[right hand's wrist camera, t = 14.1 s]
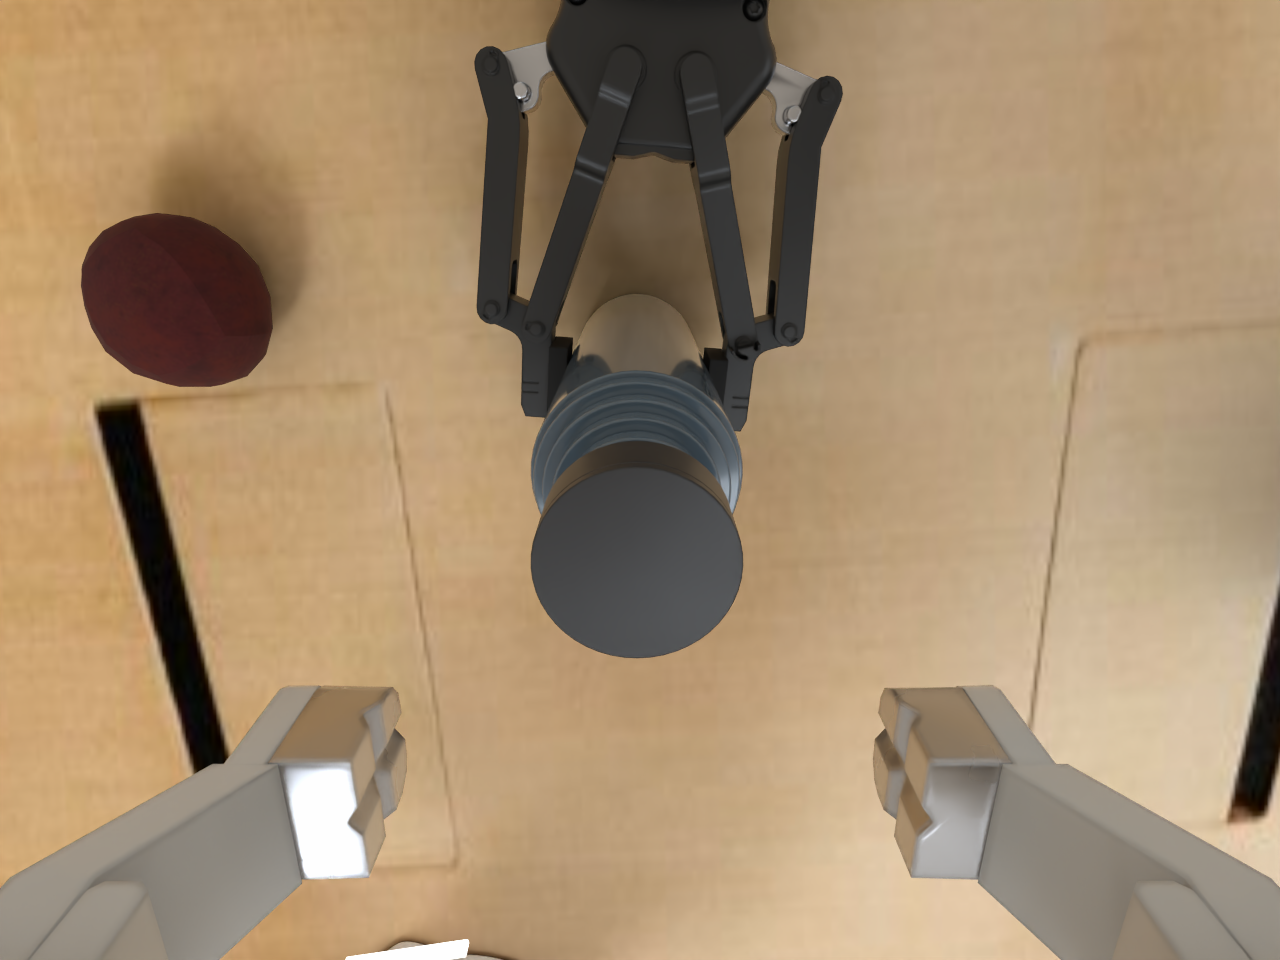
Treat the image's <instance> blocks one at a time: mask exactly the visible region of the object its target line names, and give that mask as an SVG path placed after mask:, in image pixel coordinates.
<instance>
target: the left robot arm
mask: <svg viewBox="0 0 1280 960" xmlns="http://www.w3.org/2000/svg"><path fill="white" fill-rule="evenodd" d="M768 7H769V0H561V4H560V8H559V11H558V14H557V16H556V19H555V21H554V22H553V24H552V26H551V28H550V30H549V32H548V35H547V39H546V42H542V43H538V44H534V45H530V46H526V47H522V48H518V49H514V50H510V51H506V52H501V50H500V49H498V48H495V47H493V46H489V47H485V48H483V49H481V50H480V51H479V52H478V53H477V55H476V58H475V71H476V75H477V78H478V82H479V86H480V90H481V94H482V98H483V102H484V105H485V109H486V113H487V117H488V128H487V144H486V161H485V177H484V194H483V211H482V227H481V244H480V260H479V277H478V294H477V313H478V315H479V317H480V318H481V319H482V320H483V321H484V322H486V323H489V324H496V325H499V326H501V327H503V328H505V329H508V330H510V331H512V332H513V333H515V334H516V335H517V336H518V338H519V339H520V341H521V344H522V392H521V405H522V408H523V411H524V413H525V416H531V417H546V414H547V412H548V410H549V407H550V405H551V403H552V401H553V398H554V396H555V394H556V391H557V389H558V387H559V384H560V382H561V380H562V377H563V375H564V373H565V370H566V368H567V366H568V363H569V361H570V359H571V357H572V346H573V338H571V337H557V336H556V337H555V332H556V326H557V324H558V323H557V322H558V319H559V317H560V314H561V311H562V308H563V305H564V302H565V300H566V297H567V294H568V291H569V288H570V285H571V282H572V280H573V277H574V274H575V271H576V268H577V265H578V262H579V260H580V257H581V254H582V251H583V248H584V245H585V243H586V240H587V237H588V234H589V231H590V228H591V225H592V223H593V220H594V217H595V214H596V211H597V208H598V206H599V203H600V200H601V197H602V194H603V191H604V188H605V186H606V183H607V181H608V178H609V176H610V173H611V170H612V167H613V164H614V162H615V159H616V158H626V159H636V158H641V157H646V156H651V155H654V156H657V157H660V158H662V159H665V160H668V161H670V162H674V163H686V164H689V166H690V171H691V177H692V181H693V186H694V189H695V193H696V198H697V204H698V209H699V214H700V220H701V225H702V230H703V236H704V241H705V246H706V252H707V257H708V262H709V268H710V273H711V278H712V284H713V289H714V294H715V300H716V305H717V310H718V316H719V321H720V327H721V332H722V337H723V347H722V349H716V348H704V357H703V361H704V363H705V365H706V367H707V370H708V372H709V374H710V377H711V379H712V381H713V384H714V386H715V388H716V390H717V393H718V395H719V397H720V400H721V402H722V404H723V406H724V409H725V411H726V413H727V416H728V418H729V420H730V422H731V425H732V427H733V429H734V431H741V429H742V428H743V426H744V424H745V422H746V420H747V412H748V404H749V396H750V389H751V381H752V373H753V366H754V362H755V360H756V358H757V357H758V356H759V355H760V354H761V353H763V352H764V351H767V350H770V349H773V348H777V347H781V346H794V345H796V344H797V343H799V342H800V340H801V339H802V338H803V334H804V329H805V318H806V307H807V296H808V286H809V275H810V264H811V253H812V242H813V231H814V220H815V209H816V199H817V188H818V177H819V166H820V155H821V147H822V144H823V142H824V140H825V137H826V135H827V132H828V130H829V128H830V125H831V123H832V121H833V118H834V116H835V114H836V111H837V109H838V107H839V104H840V102H841V99H842V95H843V92H842V86H841V84H840V82H839V81H838V80H837V79H836V78H834V77H831V76H824V77H821V78H819V79H818V80H816V79H813V78H811V77H809V76H807V75H804V74H802V73H800V72H798V71H795V70H793V69H791V68H789V67H787V66H784V65H782V64H780V63H778V62H776V52H775V48H774V45H773V43H772V40H771V37H770V33H769V28H768ZM553 75H556V77H557V78H558V80H559V82H560V84H561V85H562V87H563V89H564V90H565V92H566V94H567V96H568V97H569V99H570V101H571V102H572V104H573V106H574V108H575V109H576V111H577V113H578V115H579V116H580V118H581V120H582V121H583V123H584V125H585V127H586V131H585V134H584V137H583V140H582V143H581V146H580V149H579V152H578V155H577V158H576V162H575V166H574V170H573V173H572V176H571V179H570V182H569V185H568V188H567V191H566V194H565V197H564V200H563V203H562V206H561V209H560V212H559V215H558V218H557V221H556V224H555V227H554V230H553V233H552V236H551V239H550V242H549V245H548V248H547V251H546V254H545V257H544V260H543V263H542V266H541V269H540V272H539V275H538V278H537V281H536V284H535V287H534V290H533V293H532V296H531V299H530V301H528V300H526V299H524V298H521V297H519V296H517V282H518V269H519V256H520V243H521V231H522V218H523V205H524V192H525V179H526V166H527V153H528V133H529V130H528V118H527V114H529V113H532V112H534V111H536V110H537V109H538V107H539V106H540V104H541V100H542V87H543V84H544V82H545V81H546V80H547V79H548V78H549V77H551V76H553ZM762 93H763V94H764V95H766V96H767V97H768V98H769V99H770V101H771V104H772V116H771V124H772V127H773V129H774V130H775V131H776V132H777V133H778V134H780V135H782V139H781V143H780V147H779V151H778V159H777V169H776V182H775V196H774V209H773V223H772V236H771V250H770V263H769V277H768V290H767V304H766V315H762V316H759V317H755V318H754V314H753V308H752V303H751V297H750V291H749V285H748V279H747V273H746V268H745V262H744V256H743V250H742V244H741V238H740V233H739V227H738V221H737V215H736V209H735V203H734V198H733V192H732V186H731V171H730V164H729V159H728V153H727V147H726V141H725V138H726V137H727V136H728V134H729V133H730V132H731V131H732V129H733V128H734V127H735V126H736V124H737V123H738V122H739V121H740V120H741V118H742V117H743V116H744V115H745V113H746V112H747V111H748V110H749V108H750V107H751V106H752V105H753V103H754V102H755V101H756V100H757V99H758V97H759V96H760V95H761V94H762Z"/></svg>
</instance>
